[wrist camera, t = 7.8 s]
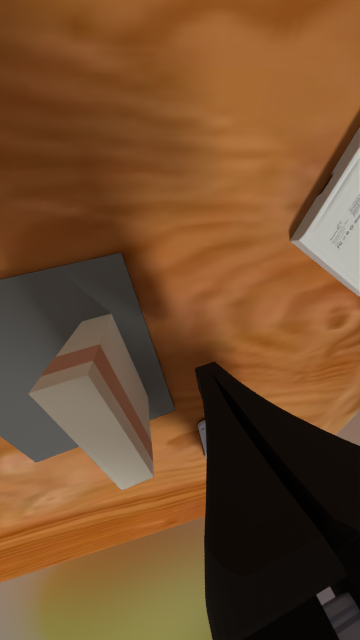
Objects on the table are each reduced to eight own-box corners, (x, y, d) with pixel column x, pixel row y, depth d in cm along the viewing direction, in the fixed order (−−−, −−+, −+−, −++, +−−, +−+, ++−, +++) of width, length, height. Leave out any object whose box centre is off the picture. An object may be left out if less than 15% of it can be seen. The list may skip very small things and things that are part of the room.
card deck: (148, 396, 15) (154, 476, 10) (127, 403, 15) (121, 490, 10) (111, 313, 11) (88, 373, 6) (81, 321, 11) (27, 393, 5)
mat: (174, 407, 17) (174, 410, 17) (38, 457, 15) (35, 462, 15) (121, 252, 10) (121, 252, 10) (-149, 313, 8) (-163, 315, 8)
